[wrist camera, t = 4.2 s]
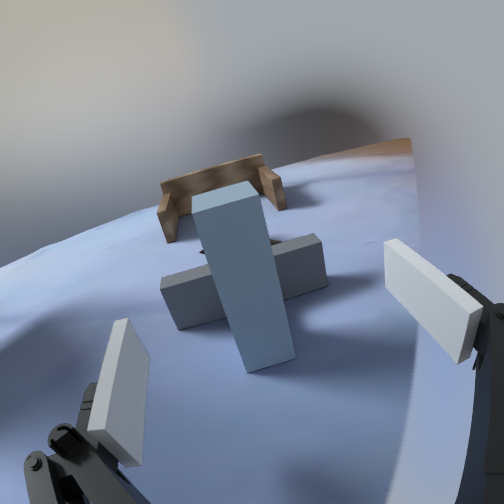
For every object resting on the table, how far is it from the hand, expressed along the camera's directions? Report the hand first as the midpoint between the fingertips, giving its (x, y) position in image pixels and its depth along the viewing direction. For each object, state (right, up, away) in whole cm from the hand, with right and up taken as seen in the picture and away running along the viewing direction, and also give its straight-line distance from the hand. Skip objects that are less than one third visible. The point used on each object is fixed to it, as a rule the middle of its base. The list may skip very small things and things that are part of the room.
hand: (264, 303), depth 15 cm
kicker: (0, -4, +11) cm, 11 cm away
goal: (-5, +9, +39) cm, 40 cm away
